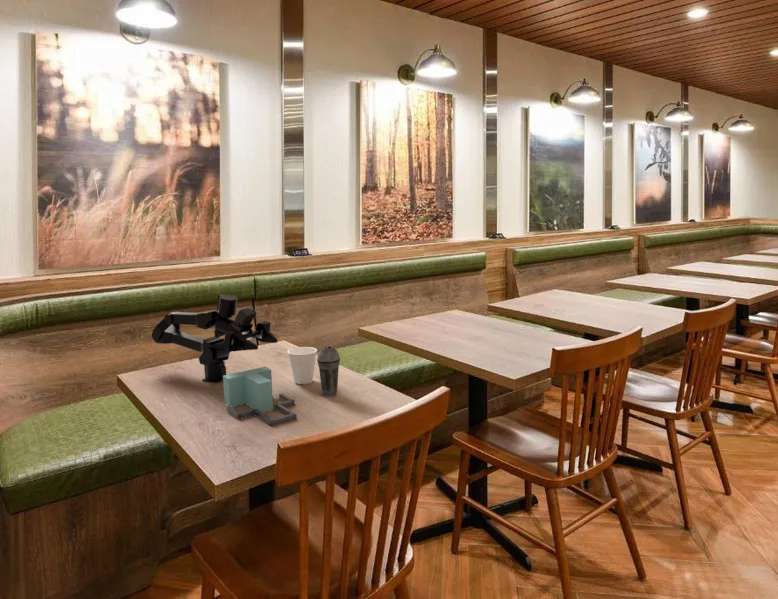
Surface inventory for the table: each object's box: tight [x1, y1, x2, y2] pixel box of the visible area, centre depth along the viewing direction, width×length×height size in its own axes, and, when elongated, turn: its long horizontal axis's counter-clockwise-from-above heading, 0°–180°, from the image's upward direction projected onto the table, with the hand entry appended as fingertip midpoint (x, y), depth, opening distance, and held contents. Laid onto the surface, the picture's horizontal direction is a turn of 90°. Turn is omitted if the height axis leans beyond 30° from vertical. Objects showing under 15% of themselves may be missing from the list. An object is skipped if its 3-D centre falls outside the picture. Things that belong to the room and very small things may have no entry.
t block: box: [222, 366, 274, 413], centre depth 174 cm, size 14×14×9 cm
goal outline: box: [226, 392, 298, 427], centre depth 169 cm, size 18×18×2 cm
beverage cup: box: [316, 333, 341, 398], centre depth 182 cm, size 7×7×20 cm
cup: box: [287, 346, 318, 385], centre depth 195 cm, size 10×10×11 cm
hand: (267, 344), depth 185 cm, fingers open, 9 cm apart
